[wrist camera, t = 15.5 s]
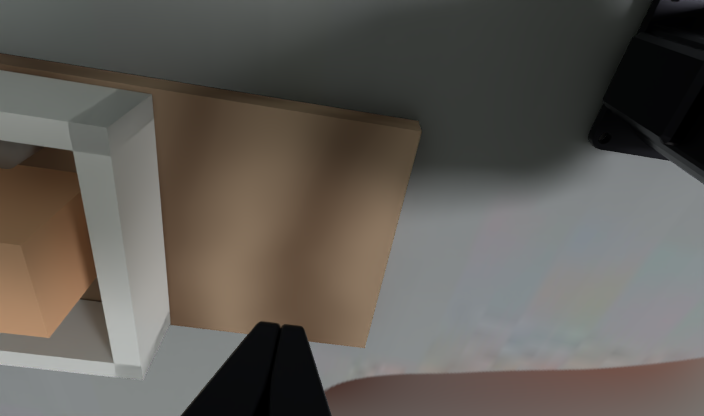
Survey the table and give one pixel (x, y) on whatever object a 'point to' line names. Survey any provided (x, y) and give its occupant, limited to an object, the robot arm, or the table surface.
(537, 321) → the table surface
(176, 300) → the seat plate
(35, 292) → the block
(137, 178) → the frame
